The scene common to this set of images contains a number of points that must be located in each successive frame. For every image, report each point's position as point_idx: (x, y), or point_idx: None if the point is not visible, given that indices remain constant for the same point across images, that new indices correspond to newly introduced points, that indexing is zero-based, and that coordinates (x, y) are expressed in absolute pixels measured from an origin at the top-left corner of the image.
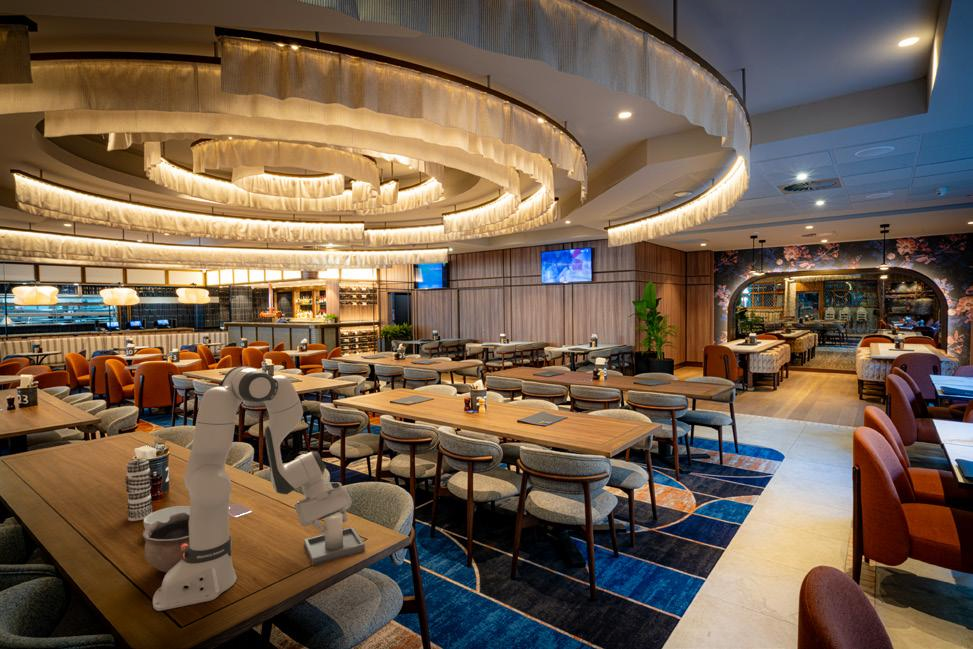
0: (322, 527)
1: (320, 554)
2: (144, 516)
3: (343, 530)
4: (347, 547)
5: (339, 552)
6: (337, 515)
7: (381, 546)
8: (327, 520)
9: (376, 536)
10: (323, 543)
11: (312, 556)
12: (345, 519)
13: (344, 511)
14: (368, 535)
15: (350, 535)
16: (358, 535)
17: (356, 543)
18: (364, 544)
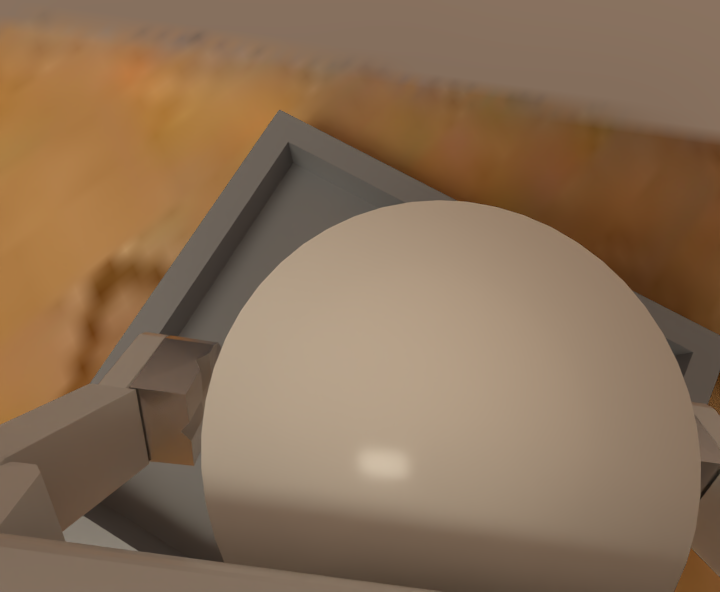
0: (704, 432)
1: None
2: None
3: (127, 543)
4: (405, 201)
5: None
6: (362, 352)
7: (172, 79)
8: (675, 386)
9: (35, 225)
10: None
11: (711, 375)
12: (187, 338)
13: (20, 455)
14: (43, 306)
15: None
16: (165, 278)
17: (253, 250)
18: (281, 112)
